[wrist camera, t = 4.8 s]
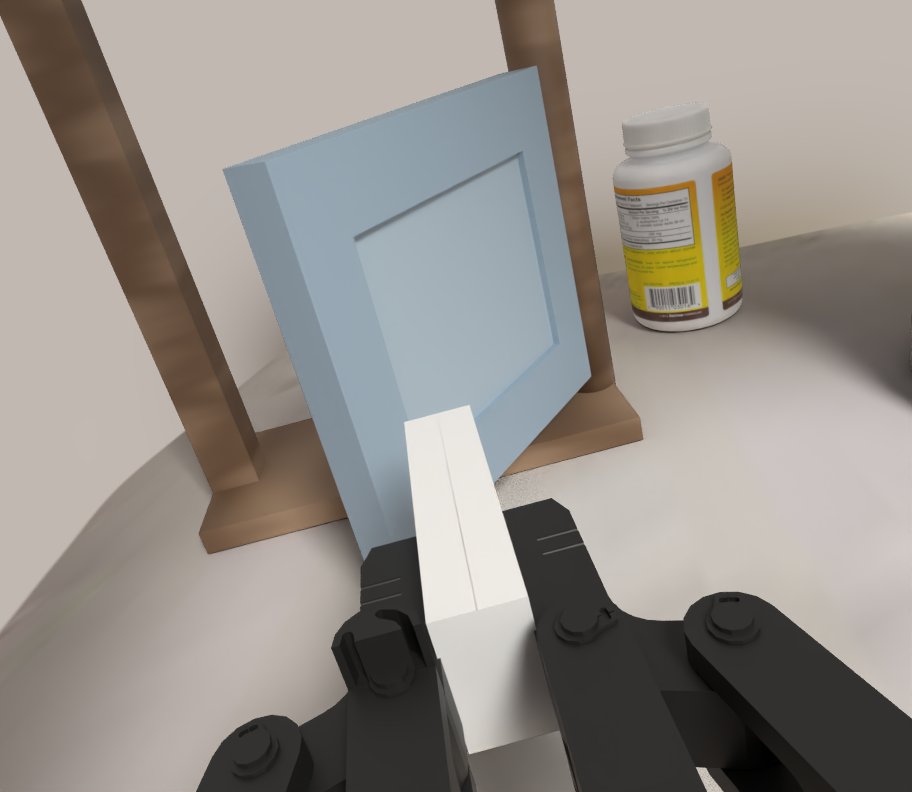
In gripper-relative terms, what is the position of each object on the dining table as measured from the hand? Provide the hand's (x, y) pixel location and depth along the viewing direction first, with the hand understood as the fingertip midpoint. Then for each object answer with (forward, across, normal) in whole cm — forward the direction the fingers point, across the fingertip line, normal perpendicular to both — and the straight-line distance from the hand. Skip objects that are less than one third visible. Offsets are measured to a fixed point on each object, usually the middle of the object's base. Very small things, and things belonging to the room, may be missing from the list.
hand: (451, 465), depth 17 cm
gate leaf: (+8, +1, -5) cm, 10 cm away
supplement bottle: (+21, +13, -7) cm, 26 cm away
